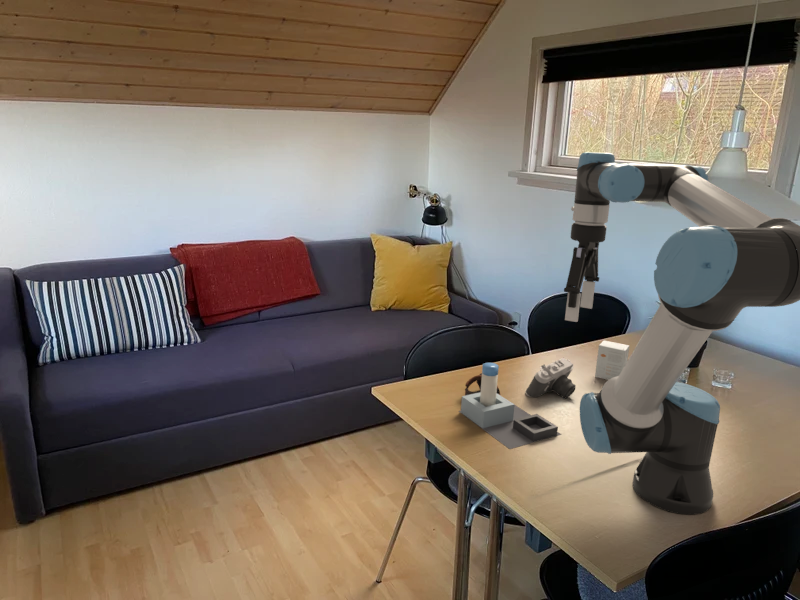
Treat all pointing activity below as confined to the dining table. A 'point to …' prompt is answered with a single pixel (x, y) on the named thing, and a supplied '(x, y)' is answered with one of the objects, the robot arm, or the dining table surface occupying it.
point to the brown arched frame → (478, 378)
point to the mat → (511, 431)
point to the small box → (611, 359)
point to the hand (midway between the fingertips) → (579, 314)
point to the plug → (489, 384)
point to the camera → (552, 379)
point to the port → (487, 410)
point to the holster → (536, 435)
